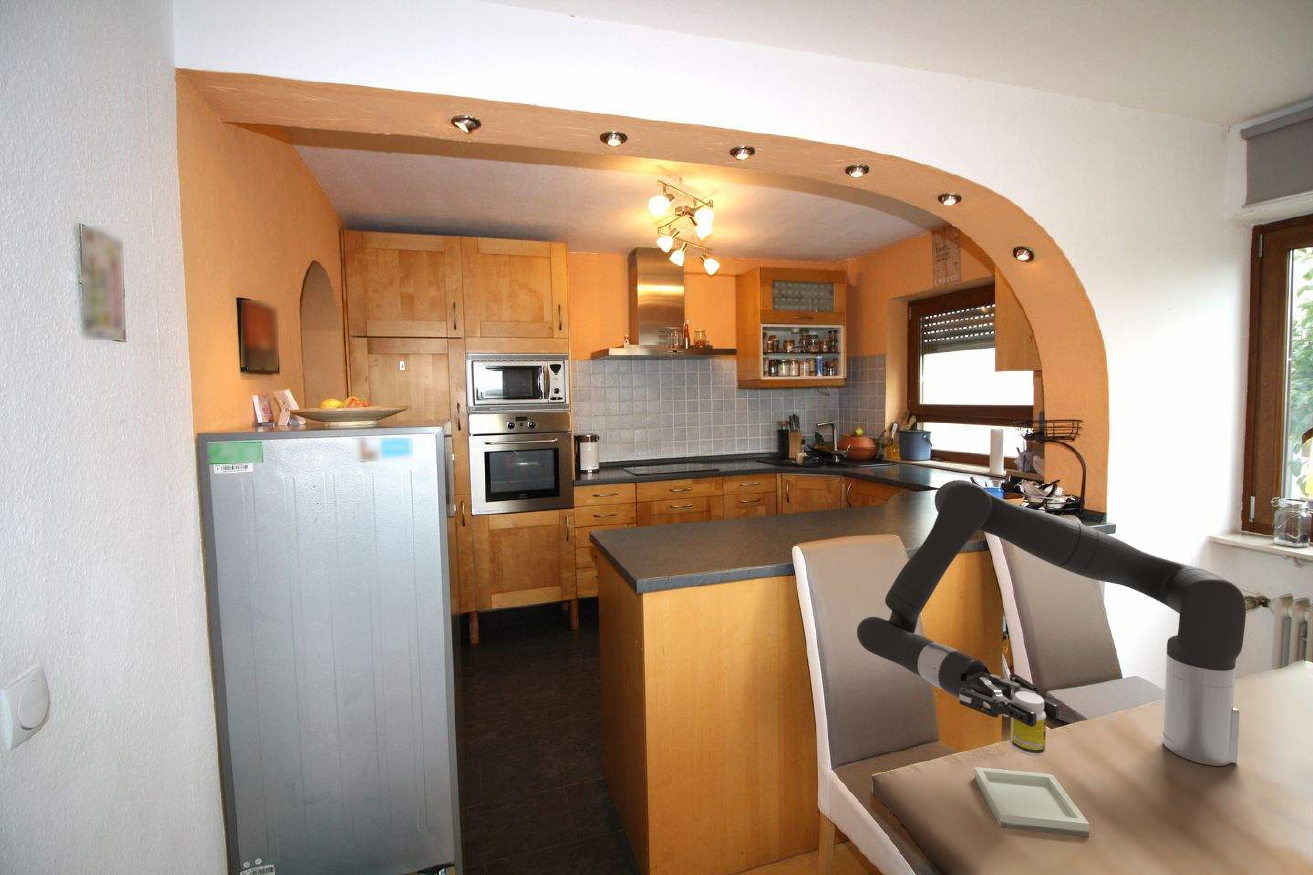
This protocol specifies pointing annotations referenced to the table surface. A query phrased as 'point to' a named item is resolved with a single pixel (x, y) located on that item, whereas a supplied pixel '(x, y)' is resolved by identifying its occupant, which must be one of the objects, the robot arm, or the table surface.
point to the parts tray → (1030, 802)
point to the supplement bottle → (1024, 735)
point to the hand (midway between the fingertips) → (1045, 716)
